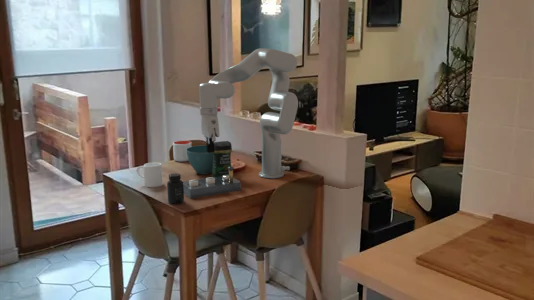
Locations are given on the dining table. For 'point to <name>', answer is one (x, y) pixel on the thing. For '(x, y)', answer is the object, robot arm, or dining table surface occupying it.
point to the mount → (211, 187)
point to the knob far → (193, 183)
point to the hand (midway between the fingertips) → (210, 151)
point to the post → (230, 174)
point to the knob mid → (210, 180)
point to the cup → (181, 150)
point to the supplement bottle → (175, 189)
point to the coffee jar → (221, 158)
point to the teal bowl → (200, 159)
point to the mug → (151, 174)
